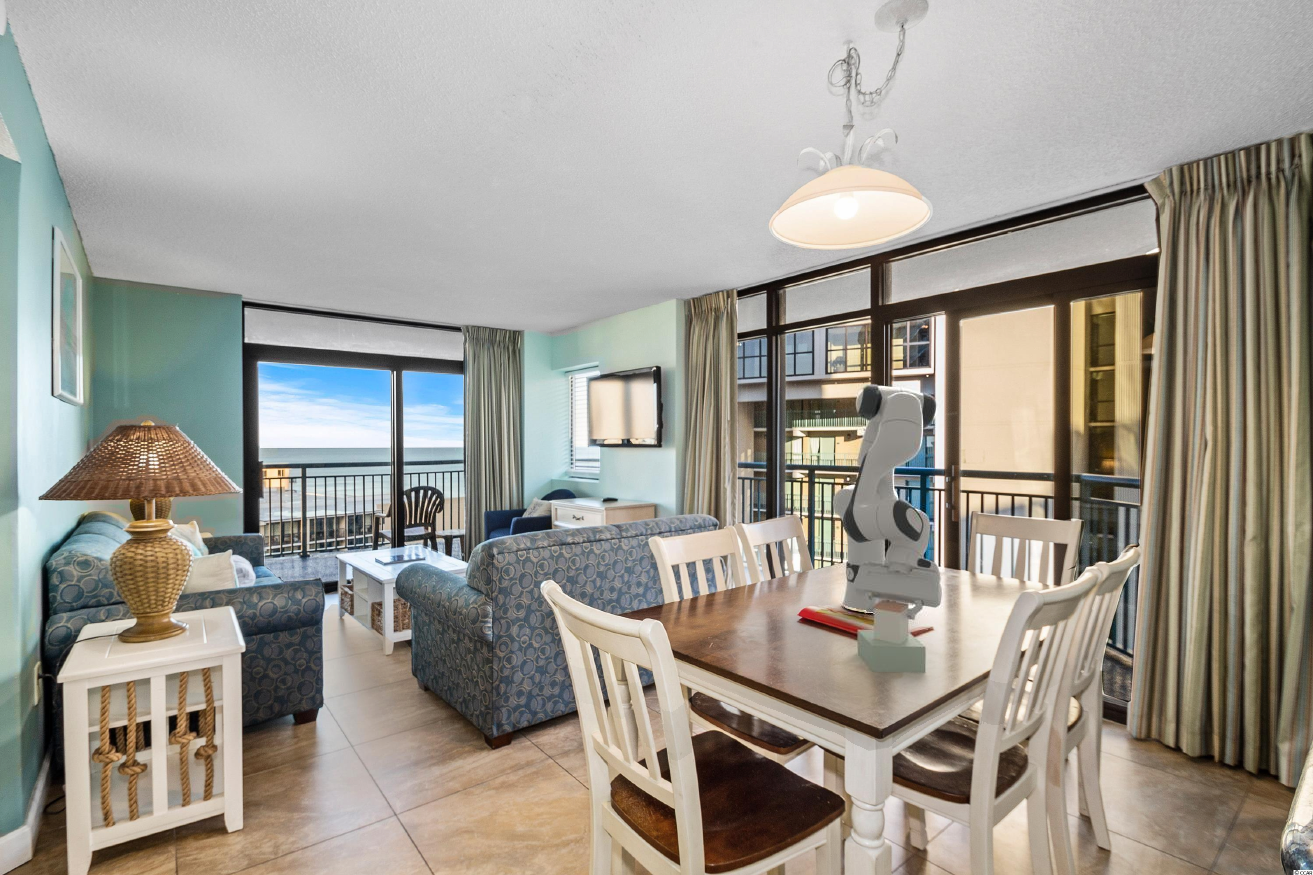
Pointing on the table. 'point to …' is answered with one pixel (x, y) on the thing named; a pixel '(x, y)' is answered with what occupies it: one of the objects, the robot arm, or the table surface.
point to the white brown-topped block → (890, 621)
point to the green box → (891, 653)
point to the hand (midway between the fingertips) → (889, 614)
